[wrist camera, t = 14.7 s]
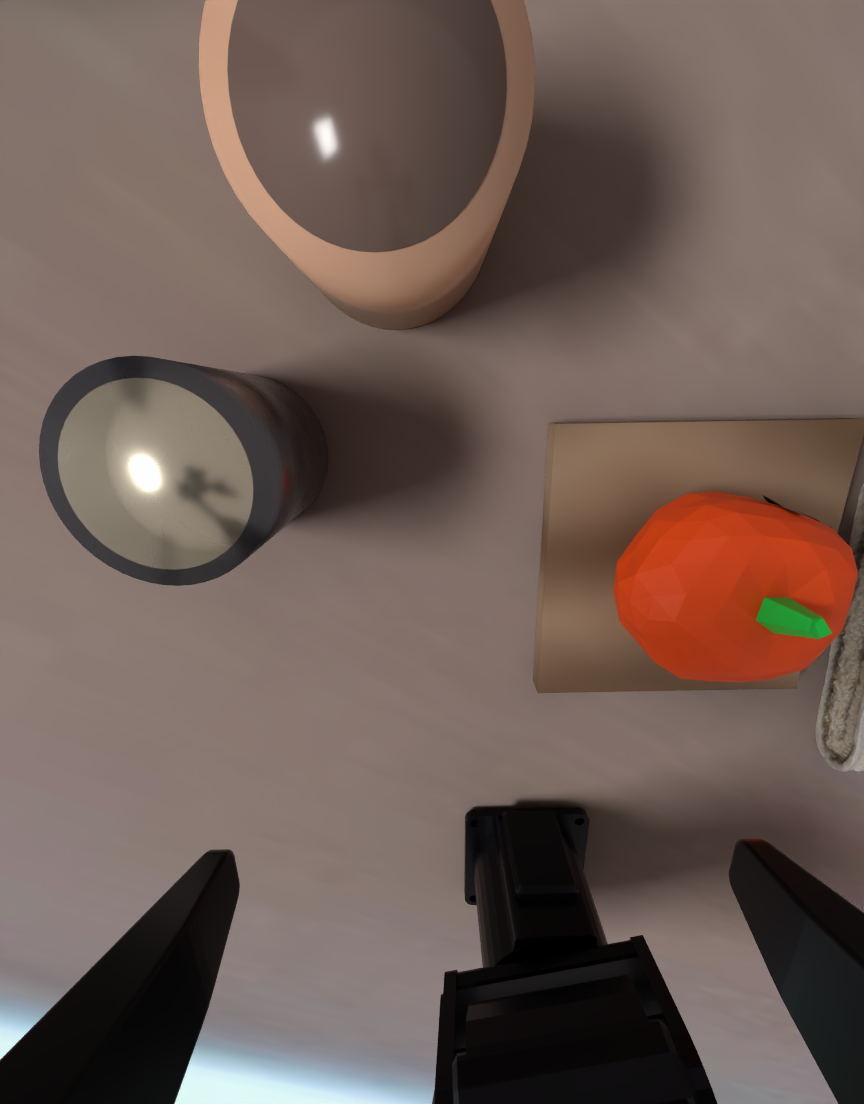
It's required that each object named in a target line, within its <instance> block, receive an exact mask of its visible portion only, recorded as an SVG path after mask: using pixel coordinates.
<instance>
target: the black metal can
mask: <svg viewBox="0 0 864 1104" xmlns="http://www.w3.org/2000/svg"><path fill="white" fill-rule="evenodd" d="M39 457H40V468H41V472H42V477H43V482H44V485H45V488H46V491H47V493H48V496H49V498H50V500H51V503H52V505H53V507H54V509H55V511H56V512H57V514H58V516H59V517H60V519H61V520H62V522H63V524H64V525H65V526H66V527H67V529H68V530H69V531H70V533H71V534H72V535H73V536H74V537H75V538H76V539H77V540H78V541H79V542H80V543H81V544H82V546H83V547H84V548H86V549H87V550H88V551H89V552H90V553H92V554H93V555H94V556H95V557H96V558H98V559H99V560H101V561H102V562H104V563H105V564H107V565H108V566H110V567H112V568H114V569H116V570H118V571H120V572H121V573H124V574H126V575H128V576H131V577H133V578H136V579H139V580H143V581H147V582H150V583H156V584H162V585H178V586H180V585H192V584H197V583H202V582H206V581H209V580H212V579H215V578H218V577H220V576H222V575H224V574H226V573H228V572H229V571H231V570H232V569H234V568H235V567H237V566H238V565H239V564H241V563H242V562H243V561H244V560H245V559H247V558H248V557H249V556H250V555H251V554H253V553H254V552H255V551H256V550H257V549H258V548H260V547H261V546H262V545H263V544H264V543H266V542H267V541H268V540H269V539H270V538H272V537H273V536H274V535H275V534H276V533H277V532H279V531H280V530H281V529H282V528H283V527H285V526H286V525H287V524H288V523H289V522H291V521H292V520H293V519H294V518H295V517H297V516H298V515H299V514H300V513H301V512H302V511H304V510H305V509H306V508H307V507H308V506H309V505H310V504H311V503H312V502H313V500H314V499H315V498H316V497H317V495H318V493H319V492H320V490H321V488H322V485H323V483H324V480H325V477H326V473H327V465H328V450H327V444H326V439H325V436H324V432H323V430H322V427H321V425H320V423H319V421H318V419H317V417H316V416H315V414H314V413H313V411H312V410H311V409H310V407H309V406H308V405H307V404H306V403H305V401H304V400H303V399H302V398H301V397H300V396H298V395H297V394H296V393H295V392H294V391H292V390H291V389H289V388H288V387H286V386H284V385H283V384H281V383H278V382H276V381H274V380H271V379H268V378H265V377H261V376H256V375H250V374H244V373H239V372H233V371H227V370H222V369H216V368H210V367H205V366H199V365H193V364H188V363H182V362H176V361H171V360H165V359H159V358H154V357H144V356H126V357H116V358H112V359H108V360H104V361H101V362H98V363H96V364H94V365H91V366H89V367H87V368H85V369H84V370H82V371H80V372H79V373H77V374H76V375H74V376H73V377H72V378H71V379H70V380H69V381H68V382H66V383H65V384H64V385H63V387H62V388H61V389H60V390H59V392H58V393H57V394H56V395H55V397H54V399H53V400H52V402H51V404H50V406H49V407H48V410H47V412H46V415H45V418H44V420H43V424H42V429H41V434H40V443H39Z"/></svg>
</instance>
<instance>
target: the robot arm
mask: <svg viewBox="0 0 864 1104" xmlns="http://www.w3.org/2000/svg"><path fill="white" fill-rule="evenodd" d="M577 818H578V819H577ZM473 820H476V821H473ZM588 825H589V818H588V816H587V813H586V811H585V810H584V809H582V808H544V809H491V810H471V811H469V812H468V813H467V814H466V816H465V886H464V892H465V901H466V902H467V903H468V904H470V905H477V912H478V922H479V932H480V942H481V953H482V963H483V968H479V969H473V970H468V971H463V972H458V971H457V970H453V971H448V972H445V976H444V992H443V994H442V995H441V1000H440V1016H439V1032H438V1048H437V1064H436V1079H435V1090H434V1096H433V1102H432V1104H717V1101H716V1099H715V1096H714V1093H713V1090H712V1088H711V1085H710V1083H709V1080H708V1077H707V1075H706V1072H705V1070H704V1067H703V1065H702V1062H701V1060H700V1057H699V1055H698V1053H697V1050H696V1048H695V1046H694V1043H693V1041H692V1039H691V1037H690V1035H689V1032H688V1030H687V1028H686V1026H685V1024H684V1022H683V1020H682V1017H681V1015H680V1013H679V1011H678V1009H677V1007H676V1005H675V1003H674V1000H673V998H672V996H671V994H670V992H669V990H668V988H667V986H666V983H665V981H664V979H663V977H662V975H661V973H660V971H659V969H658V967H657V964H656V962H655V960H654V958H653V956H652V954H651V952H650V950H649V947H648V945H647V943H646V941H645V939H644V937H643V935H640V936H635V937H630V940H628V941H623V942H618V943H612V944H608V943H607V940H606V937H605V934H604V931H603V928H602V925H601V922H600V919H599V916H598V913H597V910H596V907H595V904H594V901H593V898H592V895H591V892H590V889H589V886H588V883H587V880H586V877H585V874H584V871H583V868H584V860H585V851H586V843H587V834H588ZM729 879H730V884H731V887H732V889H733V892H734V894H735V896H736V898H737V901H738V903H739V905H740V907H741V910H742V912H743V914H744V916H745V919H746V921H747V923H748V925H749V928H750V930H751V932H752V934H753V936H754V939H755V941H756V943H757V945H758V948H759V950H760V952H761V954H762V957H763V959H764V961H765V963H766V966H767V968H768V970H769V972H770V974H771V977H772V979H773V981H774V983H775V985H776V987H777V989H778V992H779V994H780V996H781V998H782V1000H783V1001H784V1003H785V1005H786V1007H787V1009H788V1011H789V1013H790V1015H791V1017H792V1019H793V1020H794V1022H795V1024H796V1026H797V1028H798V1030H799V1032H800V1033H801V1035H802V1037H803V1039H804V1041H805V1043H806V1045H807V1046H808V1048H809V1050H810V1052H811V1054H812V1056H813V1057H814V1059H815V1061H816V1063H817V1065H818V1067H819V1069H820V1070H821V1072H822V1074H823V1076H824V1078H825V1080H826V1081H827V1083H828V1085H829V1087H830V1089H831V1091H832V1093H833V1094H834V1096H835V1098H836V1100H837V1102H838V1104H864V913H863V912H862V911H861V910H859V909H858V908H857V907H855V906H854V905H852V904H851V903H850V902H848V901H847V900H846V899H844V898H843V897H842V896H840V895H839V894H837V893H836V892H835V891H833V890H832V889H831V888H829V887H828V886H827V885H825V884H824V883H822V882H821V881H820V880H818V879H817V878H816V877H814V876H813V875H812V874H810V873H809V872H807V871H806V870H805V869H803V868H802V867H801V866H799V865H798V864H797V863H795V862H794V861H792V860H791V859H790V858H788V857H787V856H786V855H784V854H783V853H782V852H780V851H779V850H777V849H776V848H775V847H773V846H772V845H771V844H769V843H768V842H766V841H764V840H761V839H741V840H739V841H738V842H737V843H736V845H735V849H734V853H733V857H732V861H731V865H730V869H729ZM239 888H240V883H239V877H238V872H237V867H236V862H235V857H234V853H233V852H232V851H231V850H228V849H225V850H210V851H208V852H206V853H205V854H204V855H203V856H202V857H201V858H200V859H199V860H198V861H197V862H196V863H195V864H194V865H193V866H192V867H191V868H190V869H189V870H188V871H187V872H186V873H185V874H184V875H183V876H182V877H181V878H180V879H179V880H178V881H177V882H176V883H175V884H174V885H173V886H172V887H171V888H170V889H169V890H168V891H167V892H166V893H165V894H164V895H163V896H162V897H161V898H160V899H159V900H158V901H157V902H156V903H155V904H154V905H153V906H152V907H151V908H150V909H149V910H148V911H147V912H146V913H145V914H144V915H143V916H142V917H141V918H140V919H139V920H138V921H137V922H136V923H135V924H134V925H133V926H132V927H131V928H130V929H129V930H128V931H127V932H126V933H125V934H124V935H123V936H122V937H121V938H120V940H119V941H118V942H117V943H116V944H115V945H114V946H113V947H112V948H111V949H110V950H109V951H108V952H107V953H106V954H105V955H104V956H103V957H102V958H101V959H100V960H99V961H98V962H97V963H96V964H95V965H94V966H93V967H92V968H91V969H90V970H89V971H88V972H87V973H86V974H85V975H84V976H83V977H82V978H81V979H80V980H79V981H78V982H77V983H76V984H75V985H74V986H73V987H72V988H71V989H70V990H69V991H68V992H67V993H66V994H65V995H64V996H63V997H62V998H61V999H60V1000H59V1001H58V1002H57V1003H56V1004H55V1005H54V1006H53V1007H52V1008H51V1009H50V1010H49V1011H48V1012H47V1013H46V1014H45V1015H44V1016H43V1017H42V1018H41V1019H40V1020H39V1021H38V1022H37V1023H36V1024H35V1025H34V1026H33V1027H32V1028H31V1029H30V1030H29V1031H28V1032H27V1033H26V1034H25V1035H24V1036H23V1037H22V1038H21V1039H20V1040H19V1041H18V1042H17V1044H16V1045H15V1046H14V1047H13V1048H12V1049H11V1050H10V1051H9V1052H8V1053H7V1054H6V1055H5V1056H4V1057H3V1058H2V1059H1V1060H0V1104H174V1103H175V1100H176V1098H177V1095H178V1092H179V1089H180V1087H181V1084H182V1081H183V1078H184V1075H185V1073H186V1070H187V1067H188V1064H189V1061H190V1059H191V1056H192V1053H193V1050H194V1047H195V1045H196V1042H197V1039H198V1036H199V1033H200V1031H201V1028H202V1025H203V1022H204V1019H205V1016H206V1013H207V1010H208V1007H209V1004H210V1000H211V997H212V993H213V990H214V986H215V982H216V978H217V975H218V971H219V967H220V964H221V960H222V956H223V952H224V949H225V945H226V941H227V937H228V934H229V930H230V926H231V922H232V919H233V915H234V911H235V908H236V904H237V900H238V896H239Z"/></svg>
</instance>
